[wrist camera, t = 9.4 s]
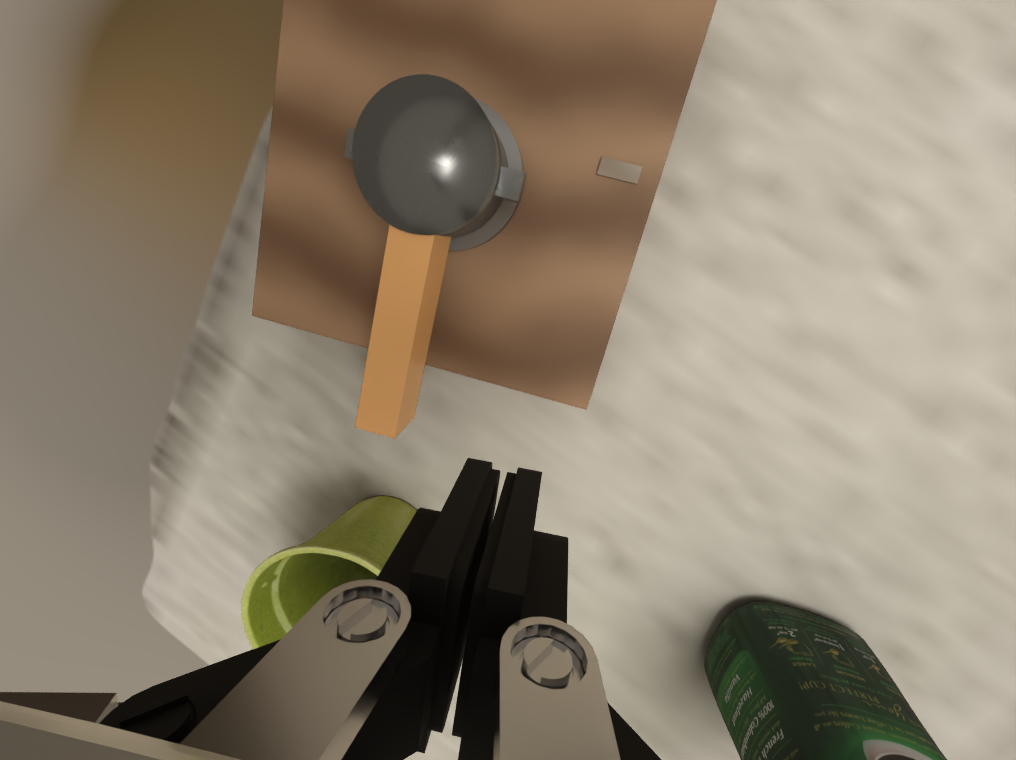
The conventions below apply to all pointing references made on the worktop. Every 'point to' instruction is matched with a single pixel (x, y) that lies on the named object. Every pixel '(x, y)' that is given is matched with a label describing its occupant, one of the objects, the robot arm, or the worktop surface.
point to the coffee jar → (808, 691)
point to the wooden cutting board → (529, 148)
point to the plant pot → (321, 567)
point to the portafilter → (420, 221)
